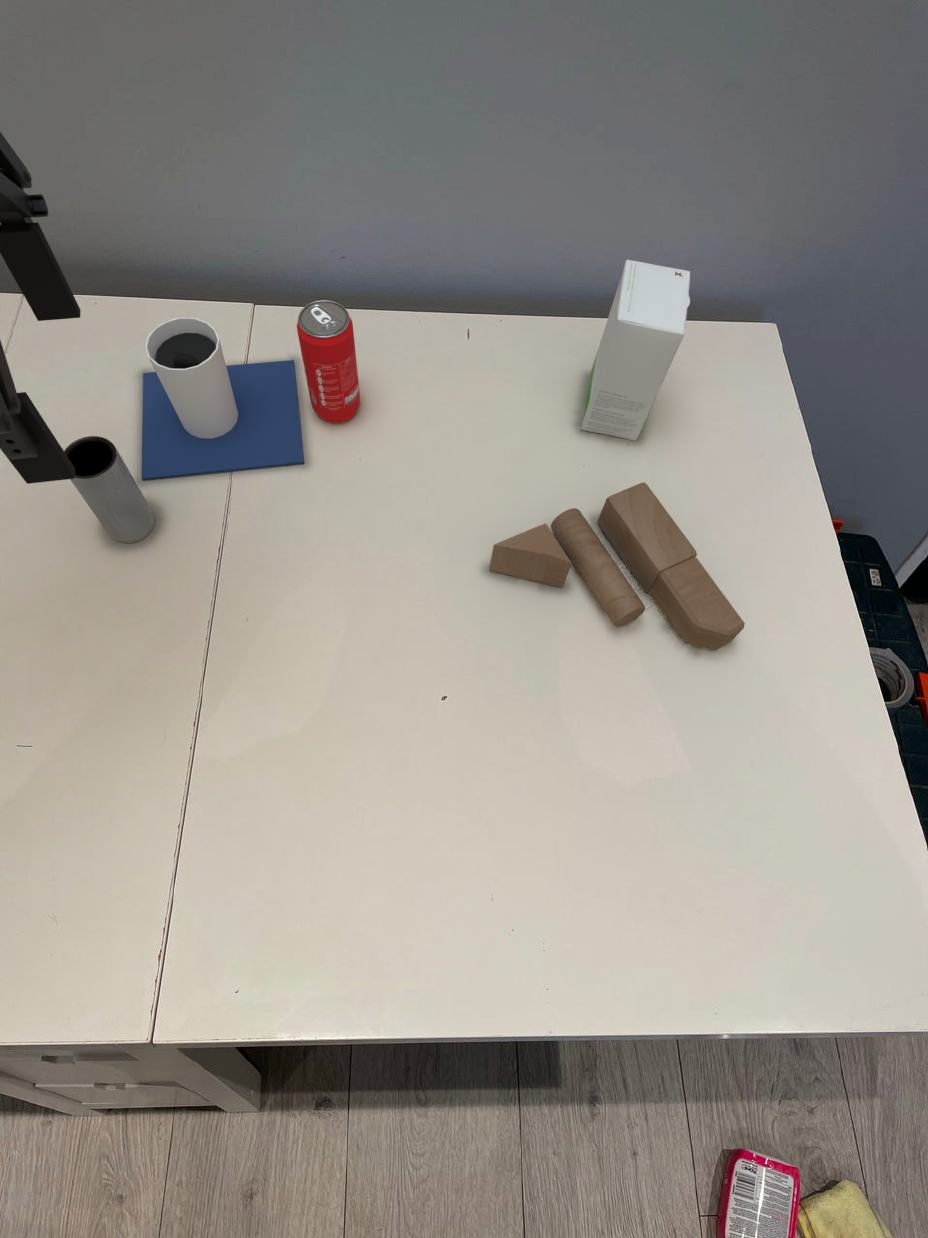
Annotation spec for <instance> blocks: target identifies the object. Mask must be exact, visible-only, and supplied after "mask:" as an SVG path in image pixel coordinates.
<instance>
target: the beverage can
mask: <svg viewBox="0 0 928 1238" xmlns="http://www.w3.org/2000/svg"><path fill="white" fill-rule="evenodd" d="M296 331H297V332H296V333H297V335H298V336H297V337H298V343H299V348H300V352H301V359H302V363H303V369H304V375H305V379H306V385H307V390H308V396H309V400H310V405H311V408H312V409H313V411H314V412H315V413H316V414H317V416H318V417H319V418H320V419H321V420H322V421H324V422H326V423H329V424H334V425H337V424H344V423H347V422H349V421H350V420H352V419H353V418H354V417H355V416H356V414H357V412H358V409H359V407H360V406H361V392H360V382H359V371H358V364H357V354H356V353H357V351H356V341H355V334H354V323H353V319H352V318H351V316H350V314H349V311H348V310H347V309H346V308H345V307H344V306H343V305H342V304H340V303H338V302H336V301H333V300H325V299H324V300H323V299H322V300H316V301H312V302H310V303H308V304H306V305H305V306H304V307H303V308H302V309H301V310H300V312H299V314H298V317H297V322H296Z"/></svg>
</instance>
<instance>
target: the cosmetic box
mask: <svg viewBox="0 0 928 1238" xmlns="http://www.w3.org/2000/svg"><path fill="white" fill-rule="evenodd" d="M622 269H623V270H622V272H621V276H620V279H619V282H618V286H617V288H616V290H615V291H616V292H615V295H614V298H613V300H612V304H611V308H610V311H609V314H608V316H607V319H606V323H605V326H604V329H603V333H602V336H601V339H600V343H599V346H598V348H597V351H596V355H595V357H594V361H593V364H592V367H591V370H590V373H589V377H588V384H587V389H586V396H585V401H584V408H583V415H582V420H581V425H580V426H581V427H580V429H581V431H583V432H589V433H595V434H600V435H606V436H609V437H616V438H621V439H624V440H625V439H626V440H631V441H638V438H639V436H640V433H641V431H642V429H643V426H644V425H645V423H646V422H645V421H646V419H647V418H648V415H649V413H650V411H651V409H652V407H653V404H654V402H655V400H656V399H657V396H658V393H659V391H660V389H661V387H662V385H663V383H664V380H665V378H666V376H667V374H668V372H669V370H670V367H671V366H672V363H673V361H674V359H675V356H676V354H677V352H678V350H679V348H680V345H681V343H682V341H683V339H684V337H685V334H686V325H687V324H686V323H687V315H688V308H689V307H690V304H691V297H690V295H689V294H690V284H691V270H685V269H680V268H675V267H669V266H663V265H659V264H652V263H648V262H644V261H637V260H633V259H632V260H631V259H626V260H625V263H624V266H623V268H622Z"/></svg>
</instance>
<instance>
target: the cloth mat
mask: <svg viewBox="0 0 928 1238" xmlns="http://www.w3.org/2000/svg"><path fill="white" fill-rule="evenodd" d="M295 367H296V366H295V360H294V359H290V360H289V359H288V360H277V361H265V362H254V363H241V364H231V365H226V368H227V372H228V375H229V379H230V383H231V387H232V391H233V395H234V399H235V403H236V407H237V411H238V418H237V422H236V424H235V425H234V427H233V428H232V430H230V431H229V432H227V433H226V434H224V435H223V436H219V437H215V438H212V439H211V438H199V437H196V436H193V435H191V434H190V433H189V432H188V431H187V430H186V429H184V427H183V425H182V423H181V421H180V419H179V417H178V415H177V413H176V411H175V409H174V407H173V405H172V403H171V401H170V399H169V397H168V395H167V393H166V391H165V389H164V387H163V385H162V383H161V381H160V379H159V377H158V375H157V373H156V371H152V372H150V371H149V372H143V373H142V415H141V416H142V418H141V419H142V425H141V435H142V436H141V481H152V480H163V479H171V478H172V479H173V478H181V477H191V476H200V475H210V474H220V473H231V472H238V471H239V472H240V471H248V470H249V471H250V470H258V469H259V470H260V469H269V468H278V467H286V466H296V465H297V466H298V465H304V464H305V458H304V457H305V456H304V447H303V438H302V428H301V427H302V426H301V418H300V406H299V397H298V386H297V377H296V368H295Z"/></svg>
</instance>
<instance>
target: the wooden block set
mask: <svg viewBox="0 0 928 1238" xmlns="http://www.w3.org/2000/svg"><path fill="white" fill-rule="evenodd" d="M654 493H655V492H653V490H652V489H651V488H650V486H649V485H648V484H647V483H646V482H640V483H638V484H636V485H633V486H631V487H628V488H625V489H623V490H621V491H618V492H616V493H614V494H611V495H609V496H607V498H606V499H605V501H604V503H603V506H602V509H601V511H600V514H599V515H598V518H597V525H598V526H599V527H600V529H601V530H602V532H603V533H604V535H605V536H606V538H607V539H608V541H609V542H610V543H611V545H612V546H613V548H614V549H615V551H616V552H617V554H618V555H619V556H620V558H621V559H622V561H623V562H624V564H625V566H626V567H627V569H628V570H629V571H630V572H631V574H632V575H633V577H634V578H635V580H636V582H637V583H638V584H639V586H640V587H641V588H642V590H643V591H644V592H645V593H649V595H650V596H651V597H652V599H653V600H654V602H655V603H656V605H657V607H658V608H659V609H660V611H661V612H662V613H663V615H664V616H665V618H666V619H667V620H668V622H669V623H670V625H671V626H672V628H673V629H674V631H675V632H676V634H677V635H678V636H679V638H680V639H681V640H682V641H684V642H685V643H687V644H690V645H694V646H697V647H700V648H703V649H707V650H710V651H717V650H719V649H721V648H723V647H725V646H727V645H729V644H730V643H731V642H732V641H733V640H734V639H735V638H736V637H737V636H738V635H739V634H740V633H741V632H742V631H743V629H744V628H745V625H746V624H745V622H744V619H742V617H741V616H740V615H739V613H738V612H737V610H736V609H735V608H734V607H733V605H732V603H731V602H730V601H729V599H728V598H727V596H725V594H724V593H723V592H722V590H721V589H720V587H719V586H718V585H717V583H716V582H715V580H714V579H713V578H712V577H711V575H710V573H708V571H707V570H706V568H705V566H703V565H702V563H701V562H700V560H699V559H698V557H697V556H698V553H697V550H696V548H694V546H693V544H692V543H691V542H690V541H689V539H688V538H687V537H686V535H685V534H684V533H683V531H682V530H681V528H680V527H679V525H677V523H676V521H674V519H673V517H672V516H671V515H670V513H669V512H668V511H667V509H666V508H665V507H664V505H663V504H662V503H661V501H660V500H659V498H657V496H656V494H654ZM572 565H574V566H575V568H576V569H577V571H578V572H579V574H580V575H581V577H582V579H583V580H584V581H585V583H586V584H587V586H588V587H589V589H590V590H591V592H592V593H593V595H594V597H595V598H596V599H597V601H598V602H599V605H600V606H601V607H602V609H603V610H604V612H605V614H606V615H607V616H608V618H609V619H610V621H611V622H612V624H613V625H614V627H617V628H620V627H624V626H627V625H628V624H630V623H633V621H636V620H637V619H638V618H639V617H640V616H642V614H643V613H644V612H645V611H646V606H645V604H644V602H643V601H642V600H641V598H640V597H639V595H638V594H637V593H636V591H635V589H634V588H633V586H632V585H631V584H630V582H629V581H628V579H627V578H626V576H625V575H624V573H623V572H622V571H621V569H620V567H619V566H618V564H617V563H616V562H615V560H614V558H613V557H612V556H611V554H610V553H609V551H608V550H607V548H606V547H605V545H604V544H603V542H602V541H601V540H600V538H599V537H598V535H597V534H596V532H595V531H594V529H593V528H592V527H591V525H590V524H589V522H588V521H587V519H586V517H585V516H584V514H583V513H582V511H581V510H580V509H578V508H575V507H573V508H568V509H567V510H565V511H562V512H561V513H559V514H558V515H557V516H555V518H554V519H553V520H552V522H551V524H550V528H549V526H548V524H547V523H546V522H545V523H543V524H540V525H537V526H535V527H533V528H530V529H528V530H525V531H523V532H521V533H519V534H516V535H513V536H511V537H509V538H506V539H503V540H502V541H499V542H497V543H495V544H493V547H492V552H491V557H490V563H489V567H488V571H490V572H494V573H497V574H502V575H506V576H511V577H515V578H519V579H522V580H527V581H531V582H536V583H540V584H543V585H548V586H553V587H557V588H560V589H563V587H564V584H565V583H566V580H567V577H568V575H569V571H570V569H571V566H572Z"/></svg>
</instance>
